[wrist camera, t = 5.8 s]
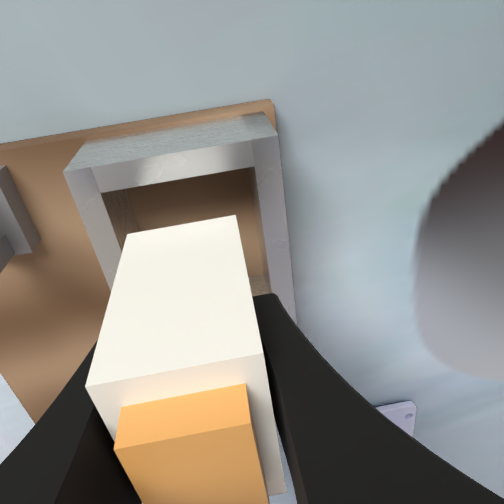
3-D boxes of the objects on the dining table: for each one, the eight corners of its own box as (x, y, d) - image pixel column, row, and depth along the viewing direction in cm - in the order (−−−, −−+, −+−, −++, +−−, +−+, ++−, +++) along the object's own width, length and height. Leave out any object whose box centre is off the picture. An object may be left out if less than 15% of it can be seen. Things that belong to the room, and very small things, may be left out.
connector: (256, 333, 14) (294, 530, 9) (167, 350, 14) (152, 560, 8) (235, 214, 11) (271, 391, 6) (127, 234, 11) (73, 429, 6)
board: (299, 385, 24) (303, 400, 23) (57, 432, 23) (51, 448, 22) (269, 98, 15) (274, 104, 14) (-117, 163, 15) (-136, 173, 14)
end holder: (283, 285, 18) (297, 331, 16) (146, 310, 18) (138, 361, 16) (263, 110, 14) (278, 135, 12) (85, 140, 14) (62, 172, 12)
